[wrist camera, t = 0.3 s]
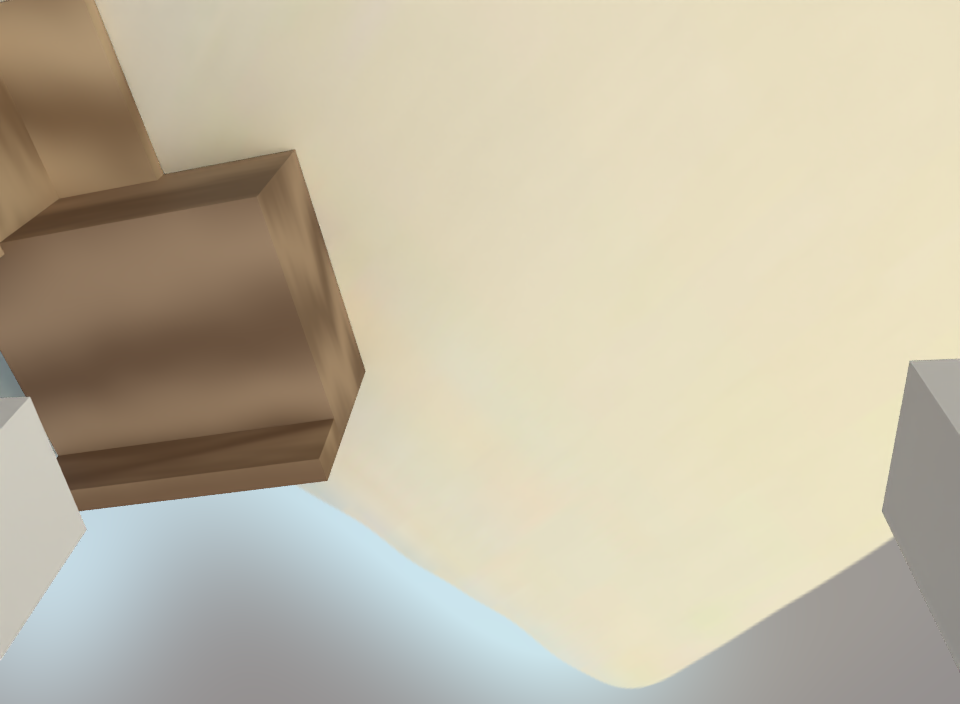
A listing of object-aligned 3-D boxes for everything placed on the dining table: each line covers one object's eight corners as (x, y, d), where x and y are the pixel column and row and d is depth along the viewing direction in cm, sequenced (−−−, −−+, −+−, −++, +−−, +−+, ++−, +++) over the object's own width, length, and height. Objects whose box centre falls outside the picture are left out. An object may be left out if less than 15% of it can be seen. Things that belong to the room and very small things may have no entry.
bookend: (-50, 13, 38) (-227, 66, 29) (87, -18, 37) (-56, 27, 28) (43, 207, 42) (-87, 303, 34) (167, 184, 41) (66, 277, 32)
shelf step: (20, 201, 42) (-100, 284, 34) (294, 149, 40) (233, 225, 32) (121, 406, 48) (38, 516, 40) (365, 371, 46) (327, 480, 38)
